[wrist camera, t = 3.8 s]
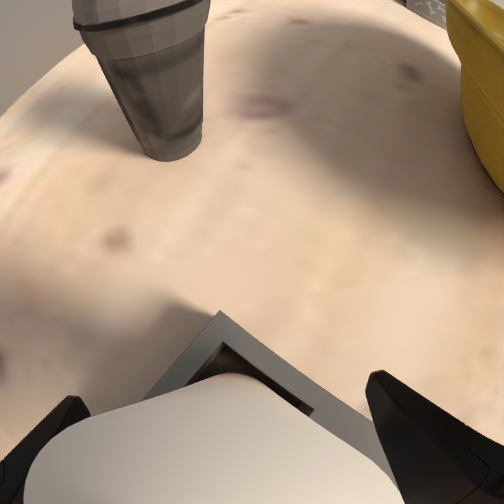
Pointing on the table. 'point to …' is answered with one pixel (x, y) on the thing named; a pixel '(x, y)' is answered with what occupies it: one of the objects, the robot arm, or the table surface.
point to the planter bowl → (481, 77)
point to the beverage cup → (151, 66)
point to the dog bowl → (429, 10)
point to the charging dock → (284, 375)
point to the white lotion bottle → (205, 454)
